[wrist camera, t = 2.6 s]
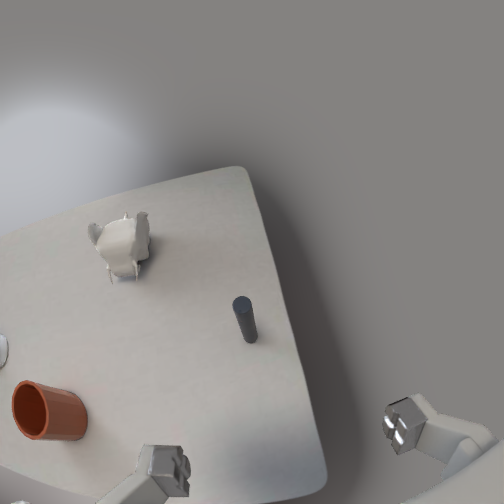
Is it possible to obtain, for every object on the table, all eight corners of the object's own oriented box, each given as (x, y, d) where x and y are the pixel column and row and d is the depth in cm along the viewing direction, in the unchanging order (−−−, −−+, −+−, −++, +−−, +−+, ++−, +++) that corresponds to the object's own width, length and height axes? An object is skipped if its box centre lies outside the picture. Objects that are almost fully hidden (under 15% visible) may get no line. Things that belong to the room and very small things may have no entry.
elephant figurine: (106, 293, 41) (77, 266, 33) (114, 233, 47) (92, 202, 40) (159, 286, 41) (135, 256, 34) (161, 224, 48) (144, 189, 40)
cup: (96, 424, 30) (57, 421, 22) (68, 449, 27) (29, 449, 19) (69, 381, 33) (31, 369, 25) (43, 407, 30) (5, 399, 23)
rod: (260, 336, 36) (255, 303, 26) (251, 346, 36) (242, 317, 26) (250, 327, 37) (241, 292, 27) (241, 337, 36) (228, 305, 26)
